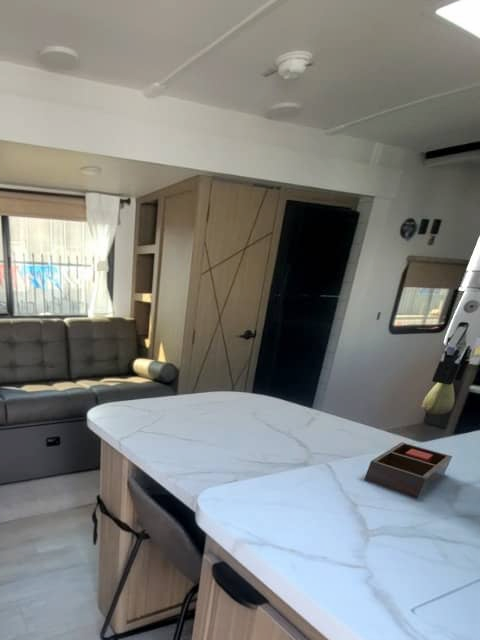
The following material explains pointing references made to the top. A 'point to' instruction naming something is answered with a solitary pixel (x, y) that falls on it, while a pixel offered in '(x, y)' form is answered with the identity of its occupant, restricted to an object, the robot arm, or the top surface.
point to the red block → (419, 455)
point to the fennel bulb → (439, 399)
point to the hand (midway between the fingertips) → (447, 380)
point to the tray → (407, 470)
